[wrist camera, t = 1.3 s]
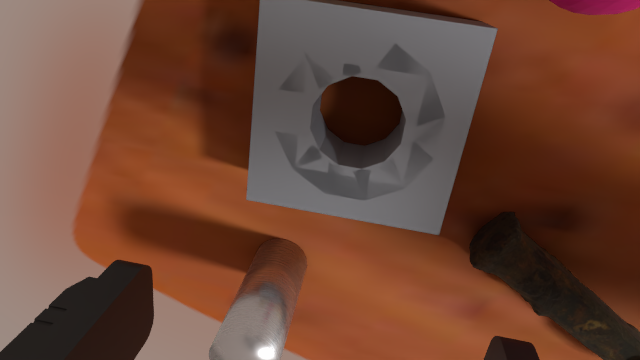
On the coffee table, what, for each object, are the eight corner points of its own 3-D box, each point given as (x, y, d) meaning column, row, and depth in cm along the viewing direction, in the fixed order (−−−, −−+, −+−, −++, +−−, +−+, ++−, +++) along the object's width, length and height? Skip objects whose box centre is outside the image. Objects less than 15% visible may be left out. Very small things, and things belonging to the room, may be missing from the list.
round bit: (310, 244, 33) (280, 342, 24) (303, 286, 35) (274, 393, 26) (257, 234, 34) (209, 327, 25) (254, 277, 35) (208, 379, 26)
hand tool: (460, 237, 32) (470, 276, 28) (506, 201, 30) (524, 238, 26) (628, 386, 35) (660, 442, 31) (677, 361, 34) (718, 416, 29)
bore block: (482, 21, 26) (497, 28, 22) (433, 204, 31) (438, 235, 27) (277, -9, 27) (260, -7, 23) (262, 174, 32) (246, 199, 28)
